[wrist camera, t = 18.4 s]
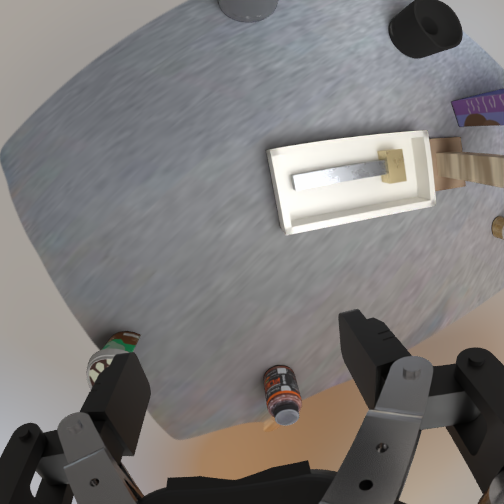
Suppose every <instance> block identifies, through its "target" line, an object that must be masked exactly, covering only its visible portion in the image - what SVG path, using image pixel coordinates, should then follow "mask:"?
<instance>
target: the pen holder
mask: <svg viewBox="0 0 504 504" xmlns="http://www.w3.org/2000/svg"><path fill="white" fill-rule="evenodd" d="M389 33H390V37H391V39H392V41H393V43H394V45H395V46H396V47H397V48H398V49H399V50H400V51H401V52H402V53H404V54H405V55H407V56H409V57H412V58H423V57H426V56H429V55H432V54H435V53H438V52H441V51H444V50H448V49H451V48H454V47H456V46H458V45H459V44H460V42H461V40H462V27H461V24H460V21H459V19H458V17H457V16H456V14H455V13H454V11H453V10H452V9H451V8H450V7H449V6H448V5H446V4H445V3H443V2H441V1H438V0H414V1H413V2H412V3H410V4H409V5H408V6H407V7H406V8H405V9H403V10H402V11H401V12H400V13H399V14H398V15H396V16H395V17H394V18H393V19H392V21H391V22H390V25H389Z"/></svg>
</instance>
